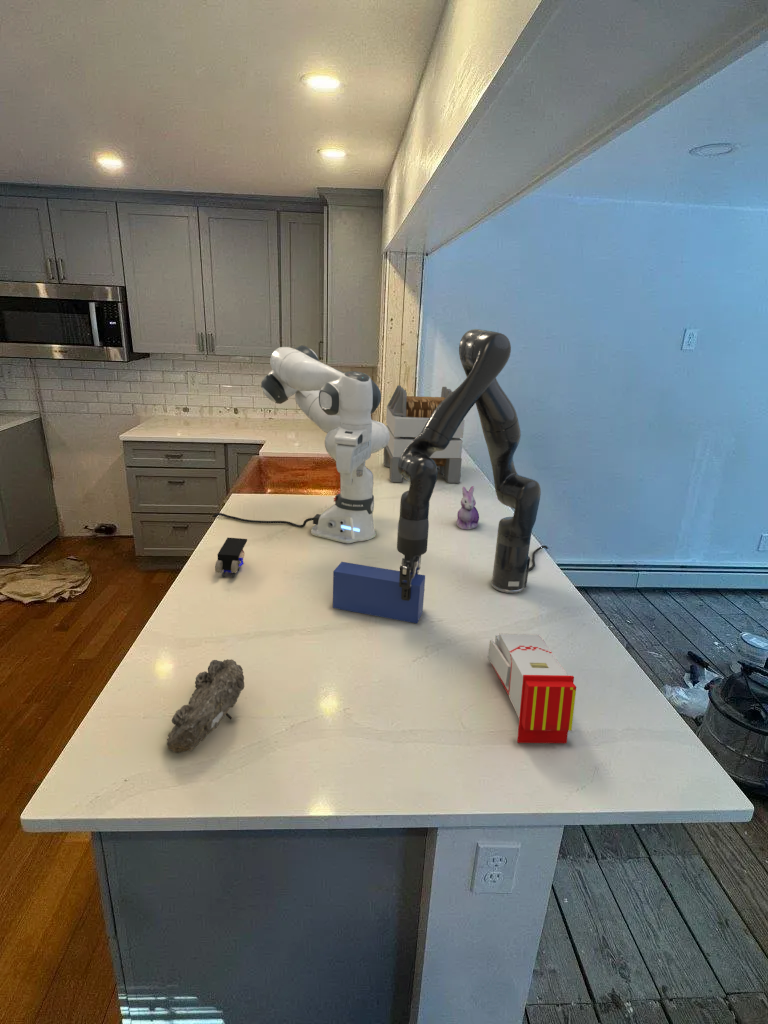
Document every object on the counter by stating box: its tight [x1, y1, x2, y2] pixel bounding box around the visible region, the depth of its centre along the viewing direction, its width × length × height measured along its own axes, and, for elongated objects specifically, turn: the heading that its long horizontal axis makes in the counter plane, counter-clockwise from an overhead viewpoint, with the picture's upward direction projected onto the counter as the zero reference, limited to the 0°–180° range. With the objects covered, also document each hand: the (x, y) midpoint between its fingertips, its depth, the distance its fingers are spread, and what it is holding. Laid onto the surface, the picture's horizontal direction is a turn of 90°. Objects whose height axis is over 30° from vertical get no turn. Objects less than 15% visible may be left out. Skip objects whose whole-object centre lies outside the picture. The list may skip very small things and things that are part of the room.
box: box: [332, 561, 426, 624], centre depth 147 cm, size 23×6×11 cm, turn 74°
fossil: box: [166, 658, 245, 754], centre depth 106 cm, size 22×10×15 cm
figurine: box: [456, 485, 480, 530], centre depth 208 cm, size 9×10×15 cm
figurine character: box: [214, 537, 248, 578], centre depth 166 cm, size 7×8×15 cm
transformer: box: [383, 384, 465, 484], centre depth 268 cm, size 34×33×41 cm
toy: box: [487, 632, 577, 744], centre depth 116 cm, size 12×13×30 cm
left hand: (354, 480), depth 161 cm, fingers open, 8 cm apart
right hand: (408, 593), depth 145 cm, fingers closed on box, 6 cm apart
